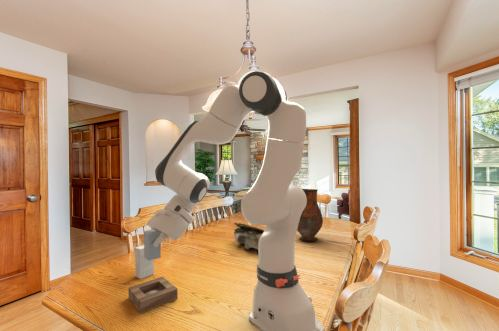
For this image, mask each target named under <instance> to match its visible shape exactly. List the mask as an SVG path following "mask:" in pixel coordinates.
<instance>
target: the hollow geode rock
mask: <svg viewBox="0 0 499 331" xmlns="http://www.w3.org/2000/svg"><path fill="white" fill-rule="evenodd" d="M234 225H236V227H237V228H235V229H234V232H233V237H234V240H235V242H236V243H238V244H240V245H244V248H245V249H247V250H249V249H252V248H253V249H256V250H257V251H258V242H259V239H260V237H261V235H262V234H263V232H264V230H265V229H263V228H258V227H255V226H252V225H251V226H250V225H247V224H244V223H240V222H239V223H236V222H234Z"/></svg>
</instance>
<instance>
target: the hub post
mask: <svg viewBox="0 0 499 331" xmlns="http://www.w3.org/2000/svg"><path fill="white" fill-rule="evenodd" d="M151 229H152V228H151ZM151 229H148V230H144V231H143V239H144V240H143V245H144V258H146V259H147V260H148V261H150V260H154V261H155V260H157V259H160V258H161V254H162V253H161V251H162V250H161V249H162V248H161V243H160V244H159V245H158V246H157V247H155V246H153V245H152V244H151V243H152V242H153V240H154V239H155V240H156V239H157V238H158V237H159V236H160V234H161V233H160V231H158V230H156V229H152V230H151Z"/></svg>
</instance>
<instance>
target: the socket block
mask: <svg viewBox="0 0 499 331" xmlns="http://www.w3.org/2000/svg"><path fill="white" fill-rule="evenodd" d="M128 299H129V301H131V302H132V304H133V306H135V309H137V310H138V311H139V313H140V314H143V313H145V312H149V311H150V310H152V309H153V310H154V309H156V308H158V307H160V306H163V305H165V304H167V303H171V302H173V301H176V300H177V299H178V288H177V286H175V285H174V284H172V283H171V282H170V281H168V280H167V279H166V278H165V277H164V276H160V277H157V278H153V279H151V280H148V281H144V282H142V283H138V284H136V285H132V286H129V287H128Z"/></svg>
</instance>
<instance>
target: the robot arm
mask: <svg viewBox="0 0 499 331" xmlns="http://www.w3.org/2000/svg"><path fill="white" fill-rule="evenodd" d="M287 96H288V95H287V93H286V90H285V88H284V87H283V86H282V85H281V83H280V82H279V81H278V80H277V79H276V78H274V77H273V76H272V75H270V73H267V72H265V71H262V70H254V71H252V72H250V73H248V74H246V75H245V76H244V77H242V79H241V81H240V83H239V85H238V84H237V85H236V84H228V85H226V86H225V87H224V88H222V90H221V91H220V93H219V94H218V95H217V97H216V99H215V100H213V102H212V104H211V106H210V107H209V110H208V112H207V114H206V115H205V116H204V117H203V118H202V119H201V120H195V121H193V122H192V123H190V124H189V125H188V126H187V127H186V129H185V130H184V131H183V133H181V135H180V136H179V138H178V139H177V141H176V142H175V143H174V145H173V146H172V148H171V149H170V150H169V152H168V153H167V154H166V155H165V156H164V158H163V159H162V160H161V161H160V162H159V163H158V165H157V166H156V168H155V170H154V175H155V179H156V183H158V184H161V185H162V186H164V187H166V188H168V189H170V190H171V191H173V192H174V193H175V195H174V196H172V197H171V199H170V200H169V201H168V202H167V203H166V205H164V208H163V209H162V208H161V209H159V210H158V211H157V212H156V213H154V214H153V216H151V218H149V220H148V222H147V223H146V225H147V227H149V228H150V230H152V229H156V230H158V231H160V236H159V237H158V238H157V239H156V240H155V239H154V240H153V242H152V243H151V244H152V245H153V246H155V247H157V246H158V245H159V244H160V245H161V244H162V243H163V242H164V241H166V239H167V238H168V239H171V240H173V241H177V240H179V239H181V236H183V234H184V233H185V232H186V230H188V227H189V226H190V225H191V224H192V223H194V221H195V217H194V216H193V215H192V212H193V210H194V209H195V207H196V205H198V204H199V203H200V202H201V201H202V200H203V199H204V197H206V194H207V193H208V190H209V188H210V186H211V181H210V179H209V178H208V176H206V175H205V174H204V173H202V172H197V171H195V170H193V169H192V168H190V167H189V166H187V165H186V164H184V163H183V162H182V159H183V158H184V156H185V155H186V154H187V153H188V151H189V150H190V148H191V147H192V146H193V145H194V144H195V143H197V142H200V143H205V144H211V145H225V144H228V143H229V142H232V140H233V138H234V137H235V136H236V135H237V133H238V131H239V130H240V127H241V126H242V124H243V121H244V120H245V119H246V117H247V116H248V115H250V114H252V113H253V114H256V115H259V116H260V115H261V116H263V117H266V119H267V121H268V131H267V138H266V144H265V151H264V157H263V162H262V165H261V169H260V170H259V173H258V175H257V177H256V180H255V182H254V183H253V185H252V186H251V187H250V189H249V190H248V191H247V192H245V194H244V195H243V196H242V199H241V203H240V209H241V214H242V217H243V218H244V219H245V221H246V222H248V223H249V224H250V225H251V226H252V225H253V226H265V227H264V229H263V230H264V232H263V234H262V235H261V237H260V239H259V242H258V250H257V251H258V252H257V254H258V264H257V265H256V279H257V282H256V285H255V287H254V289H253V298H252V310H251V312H250V313H249V315H248V320H249V321H250V322H251V323H253V324H254V325H255V326H256V327H258V328H259V329H260V330H262V331H325V330H326V329H325V326H324V324H322V322H321V321H320V320H319V319H318V318H317V317H316V311H315V306H314V305H313V303H312V302H313V300H312V296H310V295H307V293H306V292H305V290H304V289H303V287H302V285H301V283H300V282H299V280H300V279H301V275H300V274H298V270H297V267H296V265H295V251H296V250H295V249H296V248H295V246H296V244H295V243H296V237H297V232H298V231H297V228H298V224H299V220H300V217H301V214H302V212H303V210H304V209H305V207H306V204H307V198H306V194H305V192H304V191H303V190H302V189H303V188H302V187H300V186H297V185H295V184H291V183H292V182H293V180H294V178H295V176H296V175H297V174H298V173H299V171H300V170H301V165H302V160H303V154H304V148H305V140H306V133H307V132H306V131H307V130H306V129H307V112H306V110H305V108H304V107H303V106H302V105H301V104H299V103H296V102H292V101H288V97H287Z"/></svg>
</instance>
